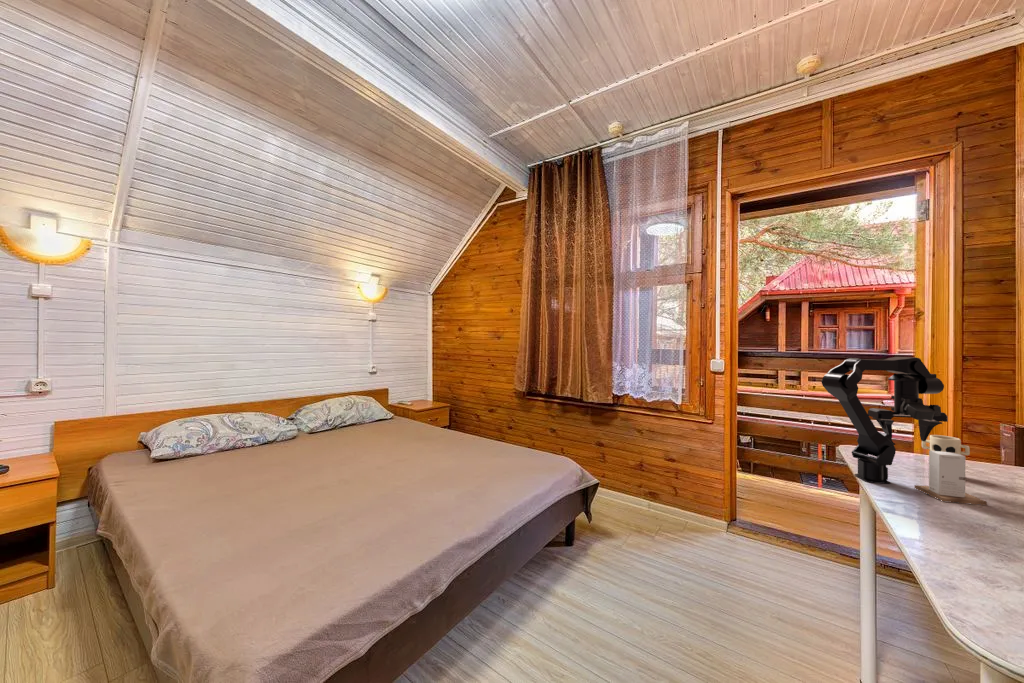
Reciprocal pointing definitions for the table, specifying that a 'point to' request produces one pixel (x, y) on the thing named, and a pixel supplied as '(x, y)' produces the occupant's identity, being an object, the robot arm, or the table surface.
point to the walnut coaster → (965, 499)
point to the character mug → (946, 444)
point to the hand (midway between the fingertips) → (906, 440)
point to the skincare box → (947, 473)
